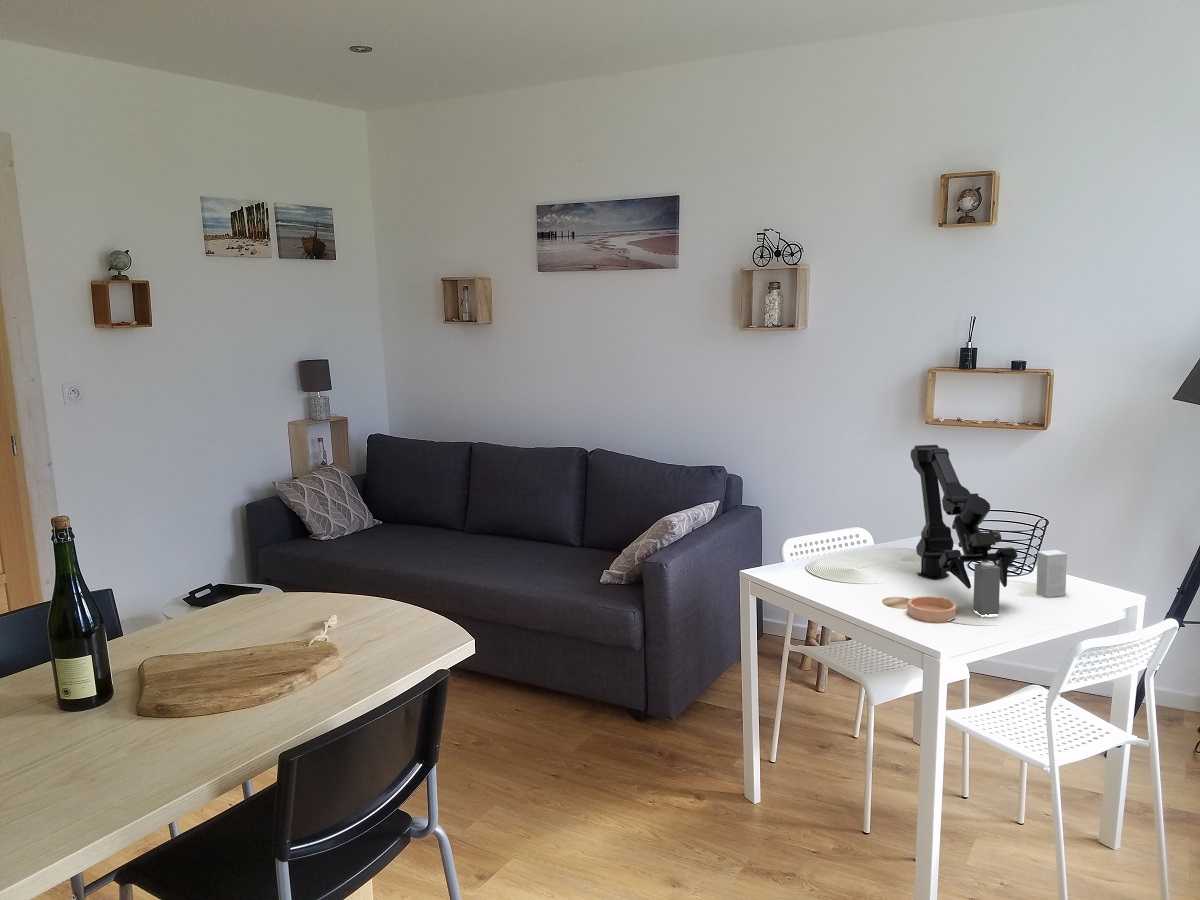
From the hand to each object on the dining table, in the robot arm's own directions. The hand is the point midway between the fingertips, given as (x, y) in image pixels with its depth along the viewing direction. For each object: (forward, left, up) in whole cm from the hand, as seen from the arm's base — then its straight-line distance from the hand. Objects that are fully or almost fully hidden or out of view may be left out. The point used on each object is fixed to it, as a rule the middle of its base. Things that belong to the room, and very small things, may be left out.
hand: (987, 587), depth 219 cm
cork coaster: (-20, -10, -8) cm, 23 cm away
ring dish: (-9, -11, -7) cm, 16 cm away
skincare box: (0, +27, -8) cm, 28 cm away
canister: (-1, 0, -7) cm, 7 cm away
